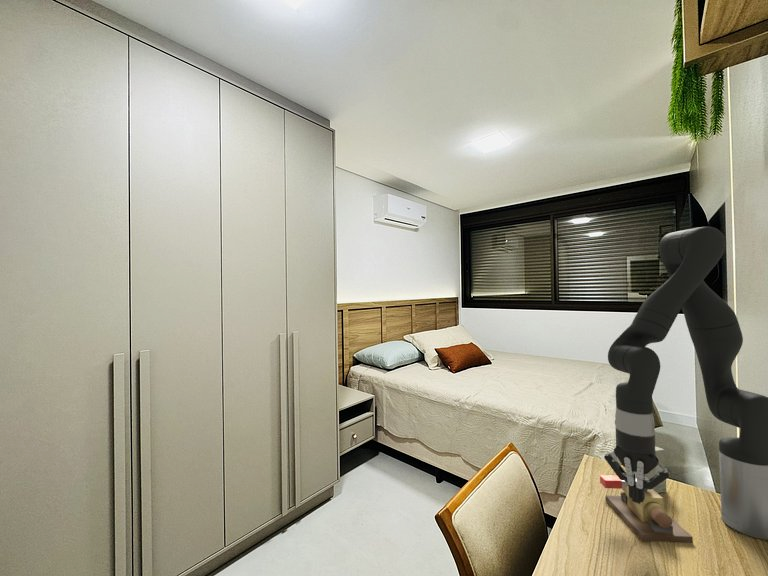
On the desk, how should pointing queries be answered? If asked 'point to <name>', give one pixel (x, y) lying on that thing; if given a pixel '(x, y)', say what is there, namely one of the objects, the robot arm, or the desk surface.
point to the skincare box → (660, 457)
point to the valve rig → (648, 518)
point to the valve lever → (614, 481)
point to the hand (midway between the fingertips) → (636, 501)
